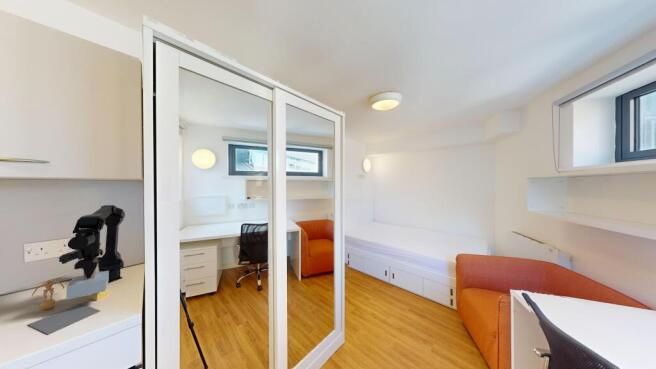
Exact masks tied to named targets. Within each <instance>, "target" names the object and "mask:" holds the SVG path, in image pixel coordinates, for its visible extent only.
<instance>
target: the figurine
mask: <svg viewBox="0 0 656 369" xmlns="http://www.w3.org/2000/svg"><path fill="white" fill-rule="evenodd" d="M54 284H59V285H60V287H61V288H62V289H65V286H64V284H62V282H61V281H54V280H48V281H46V282H45V283H42V284H41V285H38V286H37V287H36V288H35V290H33V291H32V294H31V297H33V296H34V295H35V293H36V292H37V290H38V289H39V288H42V287H44V288H45V289H44V290H43V293H42V294H43V298H44V301H43V302H41V303H40V305H39V308H40V310H42V311H44V310H46V311H47V310H50V309H51V308H52V309H53V307H54V306H55V305H56V303H57V301H56V300H55V299H53V295H54V292H55V291H54V290H55V288H54V287H53V286H54ZM48 292H49V293H50V296H49V297H50V298H49V299H48V298H47V294H48Z"/></svg>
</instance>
